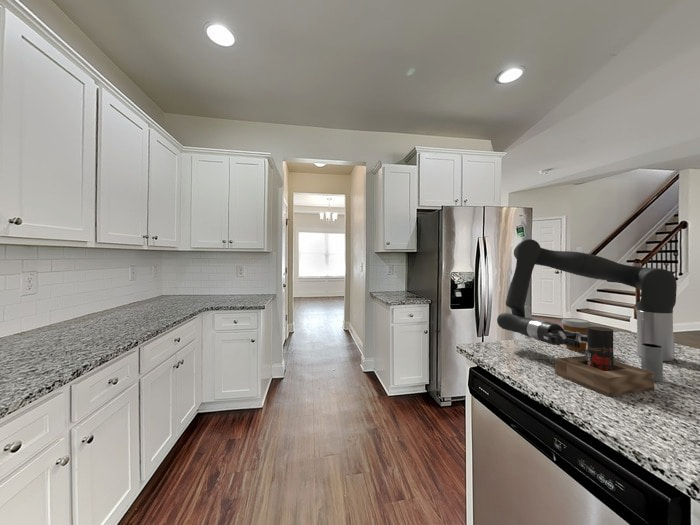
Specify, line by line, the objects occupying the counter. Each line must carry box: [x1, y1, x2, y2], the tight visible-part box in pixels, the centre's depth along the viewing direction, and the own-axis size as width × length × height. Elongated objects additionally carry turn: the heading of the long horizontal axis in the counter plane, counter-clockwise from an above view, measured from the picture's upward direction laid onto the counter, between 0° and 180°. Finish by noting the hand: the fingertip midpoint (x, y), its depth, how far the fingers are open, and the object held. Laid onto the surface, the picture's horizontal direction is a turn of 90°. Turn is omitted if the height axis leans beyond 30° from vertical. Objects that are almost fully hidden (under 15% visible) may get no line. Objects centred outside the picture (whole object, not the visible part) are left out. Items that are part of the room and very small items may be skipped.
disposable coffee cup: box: [561, 317, 591, 352], centre depth 118 cm, size 10×10×12 cm
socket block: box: [554, 354, 655, 398], centre depth 87 cm, size 16×16×5 cm
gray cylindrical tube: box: [640, 343, 664, 383], centre depth 88 cm, size 4×4×10 cm
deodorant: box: [586, 325, 615, 371], centre depth 87 cm, size 6×6×15 cm
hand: (589, 343), depth 90 cm, fingers open, 8 cm apart
